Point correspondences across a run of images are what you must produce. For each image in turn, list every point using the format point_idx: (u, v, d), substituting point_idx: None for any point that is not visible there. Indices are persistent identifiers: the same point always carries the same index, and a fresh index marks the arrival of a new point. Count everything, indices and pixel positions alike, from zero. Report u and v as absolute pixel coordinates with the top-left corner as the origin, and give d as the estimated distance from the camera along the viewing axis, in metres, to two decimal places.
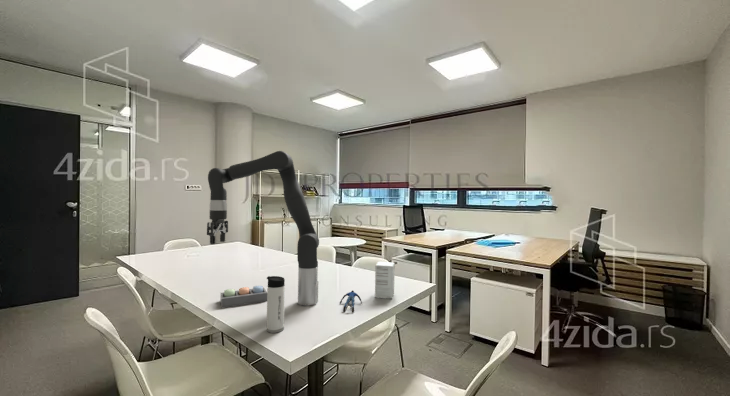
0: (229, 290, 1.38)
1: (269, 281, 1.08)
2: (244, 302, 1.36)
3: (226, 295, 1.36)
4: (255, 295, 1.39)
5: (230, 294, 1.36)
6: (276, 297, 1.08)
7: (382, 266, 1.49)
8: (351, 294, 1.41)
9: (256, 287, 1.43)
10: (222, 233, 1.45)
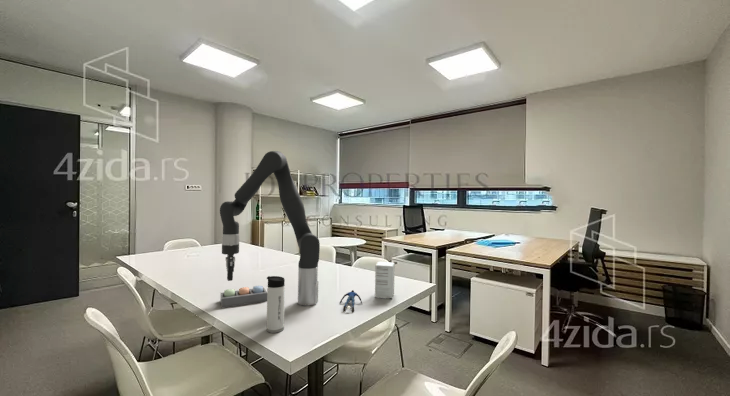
0: (229, 290, 1.38)
1: (269, 281, 1.08)
2: (244, 302, 1.36)
3: (226, 295, 1.36)
4: (255, 295, 1.39)
5: (230, 294, 1.36)
6: (276, 297, 1.08)
7: (382, 266, 1.49)
8: (351, 294, 1.41)
9: (256, 287, 1.43)
10: None
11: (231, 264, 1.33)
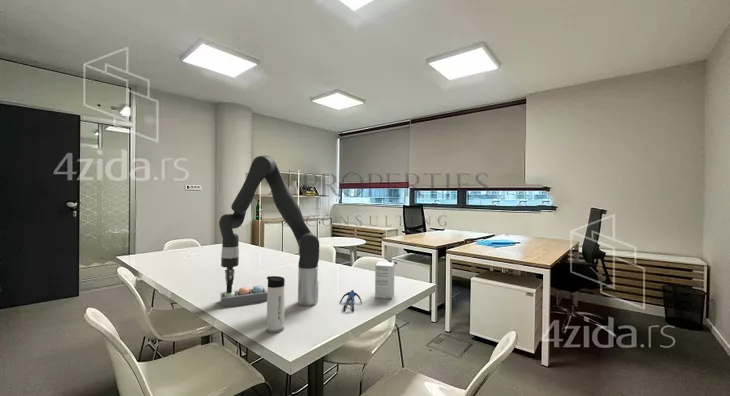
0: None
1: (269, 281, 1.08)
2: (244, 302, 1.36)
3: None
4: (255, 295, 1.39)
5: None
6: (276, 297, 1.08)
7: (382, 266, 1.49)
8: (351, 294, 1.42)
9: (256, 287, 1.43)
10: None
11: (230, 278, 1.33)
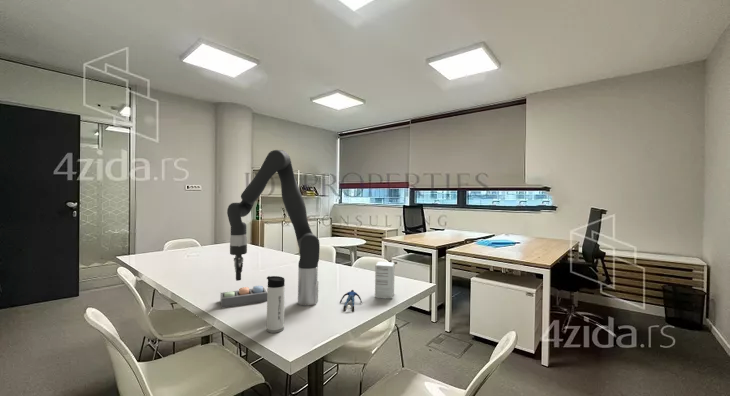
0: (229, 292, 1.38)
1: (269, 281, 1.08)
2: (244, 302, 1.36)
3: None
4: (255, 295, 1.39)
5: None
6: (276, 297, 1.08)
7: (382, 266, 1.49)
8: (351, 293, 1.42)
9: (256, 287, 1.43)
10: None
11: (239, 265, 1.35)
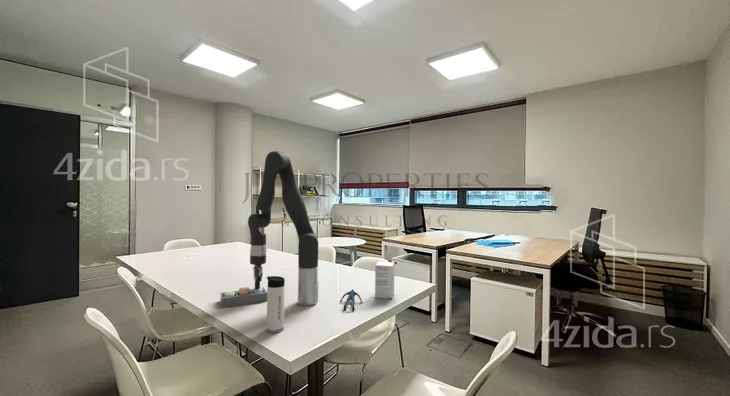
0: (229, 292, 1.38)
1: (269, 281, 1.08)
2: (244, 302, 1.36)
3: None
4: (255, 295, 1.39)
5: None
6: (276, 297, 1.08)
7: (382, 266, 1.49)
8: (351, 293, 1.42)
9: (256, 289, 1.43)
10: None
11: (259, 275, 1.39)
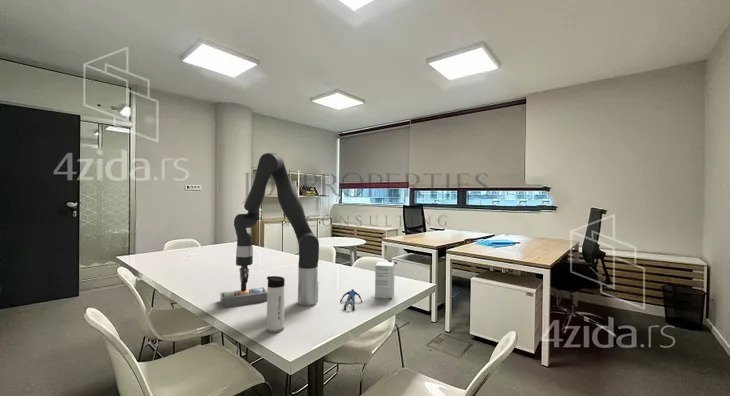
0: (229, 292, 1.38)
1: (269, 281, 1.08)
2: (244, 302, 1.36)
3: None
4: (255, 295, 1.39)
5: None
6: (276, 297, 1.08)
7: (382, 266, 1.49)
8: (351, 293, 1.43)
9: (256, 289, 1.43)
10: None
11: (245, 276, 1.36)
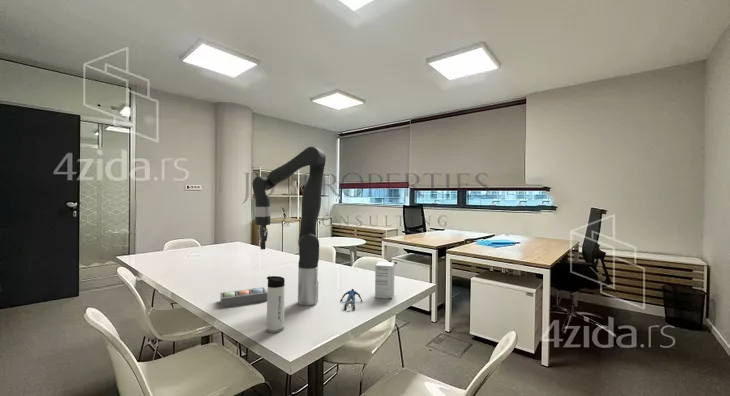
0: (229, 292, 1.38)
1: (269, 281, 1.08)
2: (244, 302, 1.36)
3: None
4: (255, 295, 1.39)
5: None
6: (276, 297, 1.08)
7: (382, 266, 1.49)
8: (351, 292, 1.43)
9: (256, 289, 1.43)
10: None
11: (265, 234, 1.44)
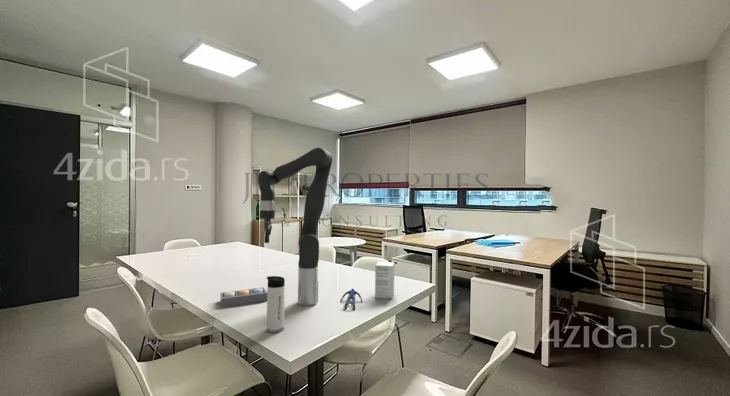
0: (229, 292, 1.38)
1: (269, 281, 1.08)
2: (244, 302, 1.36)
3: None
4: (255, 295, 1.39)
5: None
6: (276, 297, 1.08)
7: (382, 266, 1.49)
8: (351, 292, 1.44)
9: (256, 289, 1.43)
10: None
11: (269, 228, 1.46)
